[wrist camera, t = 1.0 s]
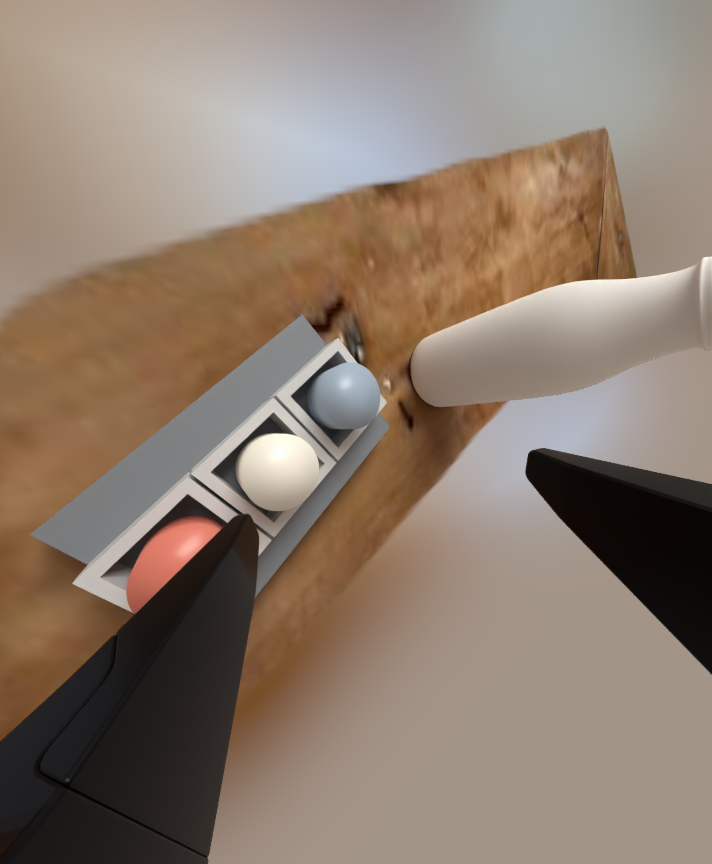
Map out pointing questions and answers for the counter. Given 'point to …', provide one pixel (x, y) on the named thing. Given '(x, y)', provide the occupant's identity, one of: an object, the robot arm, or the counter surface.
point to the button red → (167, 556)
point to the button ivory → (277, 471)
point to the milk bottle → (565, 338)
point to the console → (215, 467)
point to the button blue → (344, 397)
